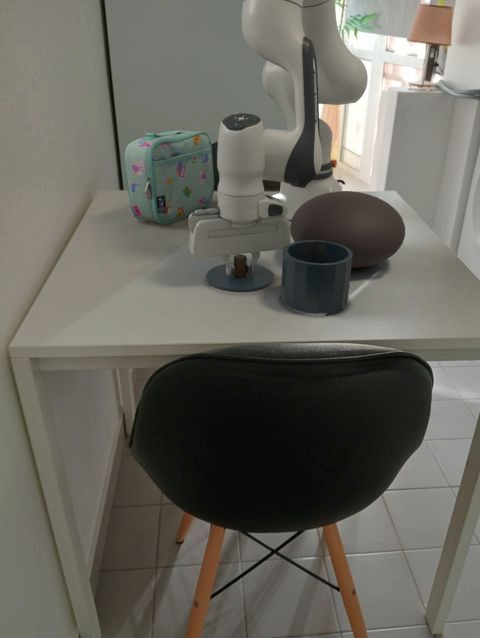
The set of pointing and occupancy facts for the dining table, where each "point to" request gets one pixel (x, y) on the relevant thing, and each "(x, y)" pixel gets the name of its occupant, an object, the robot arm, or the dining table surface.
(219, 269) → the lid
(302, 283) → the tin
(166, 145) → the lunch box
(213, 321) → the dining table surface
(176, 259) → the dining table surface
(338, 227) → the flattened ellipsoid
